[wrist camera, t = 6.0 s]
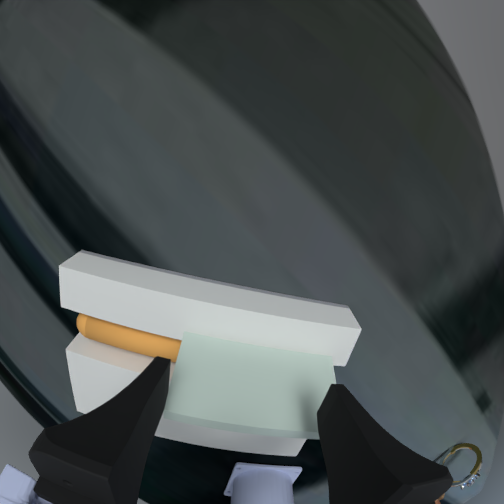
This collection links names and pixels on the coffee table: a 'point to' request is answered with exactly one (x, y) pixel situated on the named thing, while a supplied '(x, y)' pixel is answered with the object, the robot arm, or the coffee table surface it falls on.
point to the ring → (475, 471)
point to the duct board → (194, 321)
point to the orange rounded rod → (128, 338)
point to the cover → (248, 387)
